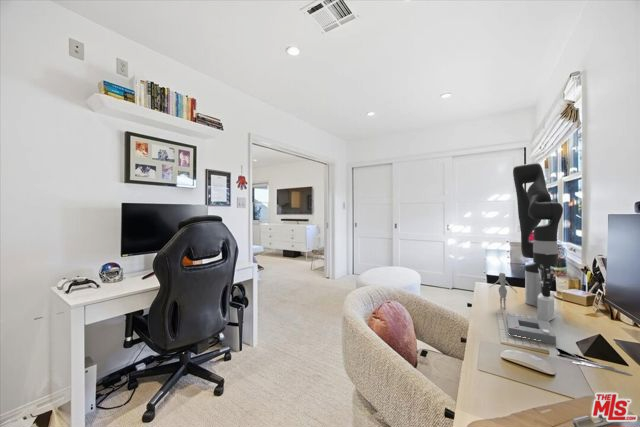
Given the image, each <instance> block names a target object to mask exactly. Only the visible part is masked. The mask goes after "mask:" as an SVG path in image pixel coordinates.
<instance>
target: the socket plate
mask: <svg viewBox="0 0 640 427" xmlns="http://www.w3.org/2000/svg"><path fill="white" fill-rule="evenodd" d="M506 324H507V325H508V327H507V333H509V334H510V335H517V336H521V337H526V338H530V339H536V340H541V341H543V342H542V343H544V342H545V343H544V344H549V345H555V346H556V345H557V337H556V334H555V332H554V331H553V328H552V326H551V324H550V321H542V320H539V319H536V318H535V319H534V318H529V317H524V316H517V315H511V314H506ZM507 325H506V326H507ZM509 334H508V335H509ZM510 335H509V336H510Z"/></svg>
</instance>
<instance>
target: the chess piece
mask: <svg viewBox="0 0 640 427" xmlns="http://www.w3.org/2000/svg"><path fill="white" fill-rule="evenodd" d="M543 279H544V278H543ZM545 283H548V282H545ZM538 299H541V300H545V301H554V302H555V297H554V298H552V297H546V296H543V294H542V295H540V296H538Z"/></svg>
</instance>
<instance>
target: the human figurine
mask: <svg viewBox="0 0 640 427" xmlns="http://www.w3.org/2000/svg"><path fill="white" fill-rule="evenodd" d="M506 277H507V276H506V273H504V272H499V273H498V280H497V281H496V282H494V283H493V284H492V285H490V286H489V288H488V289H490V288H491V287H493V286H495V285H496V284H497V283H499V284H500V286H499V287H498V293H499V294H498V295H499V297H500V298H499V301H500V302H499V303H500V309H503V310H506V309H507V307H506V304H507V303H506V302H507V301H506V300H507V298H506V297H507V293H508V290H507V287H506V285H508V286H509V287H510V289H512V291H514V292H515V293H518V292H517V290H516V289H515V288H513V286H512V285H510V283H509V282H508V281H507V280H506V279H507V278H506ZM502 305H503V306H502Z"/></svg>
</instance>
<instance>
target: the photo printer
mask: <svg viewBox="0 0 640 427" xmlns="http://www.w3.org/2000/svg"><path fill="white" fill-rule="evenodd" d="M540 295H542V293H540V294H539V295H538V296H540ZM550 297H552V298H554V299H555V295H554V294H553V292H551V291H550ZM536 308H537V309H536V310H537V311H536V313H537V320H542V321H548V322H550V321H551V320H553V319H554V318H555V316H556V315H555V300H554V301H545V300H541V299H538V297H537V306H536Z"/></svg>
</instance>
